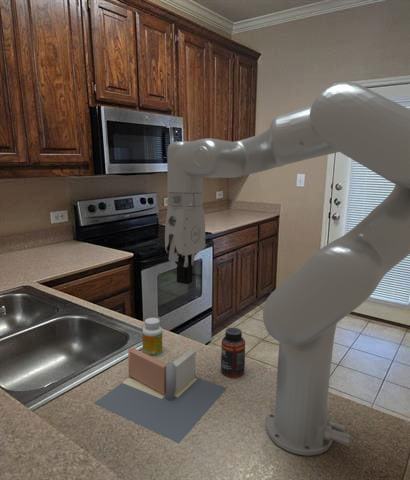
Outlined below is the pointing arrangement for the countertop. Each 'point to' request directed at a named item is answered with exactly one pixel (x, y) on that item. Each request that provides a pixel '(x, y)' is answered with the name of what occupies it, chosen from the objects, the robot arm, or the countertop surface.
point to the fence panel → (147, 370)
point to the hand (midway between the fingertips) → (184, 282)
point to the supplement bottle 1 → (152, 337)
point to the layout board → (165, 400)
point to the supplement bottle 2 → (233, 353)
